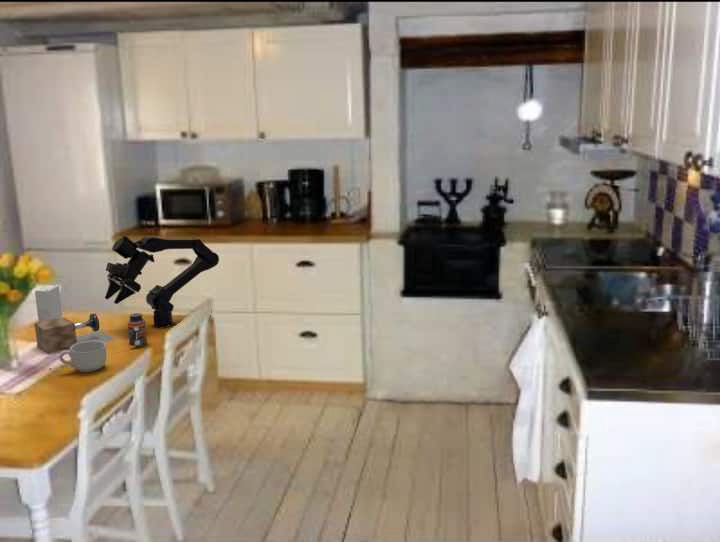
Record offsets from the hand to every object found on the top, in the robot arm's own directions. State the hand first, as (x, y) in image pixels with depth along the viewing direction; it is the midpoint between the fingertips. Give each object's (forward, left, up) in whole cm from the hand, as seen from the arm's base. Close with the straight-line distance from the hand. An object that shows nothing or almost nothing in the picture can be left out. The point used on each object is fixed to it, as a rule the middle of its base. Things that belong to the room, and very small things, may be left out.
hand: (110, 301), depth 247 cm
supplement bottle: (+4, +17, -14) cm, 22 cm away
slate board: (+13, -4, -13) cm, 19 cm away
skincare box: (-1, -37, -14) cm, 40 cm away
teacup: (+29, +20, -14) cm, 38 cm away
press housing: (+19, -7, -12) cm, 24 cm away
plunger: (+11, -4, -10) cm, 15 cm away
